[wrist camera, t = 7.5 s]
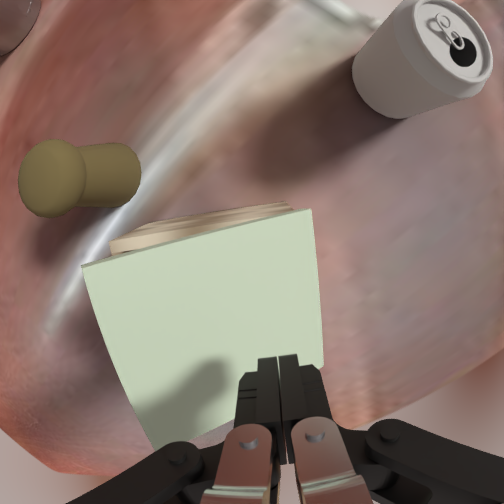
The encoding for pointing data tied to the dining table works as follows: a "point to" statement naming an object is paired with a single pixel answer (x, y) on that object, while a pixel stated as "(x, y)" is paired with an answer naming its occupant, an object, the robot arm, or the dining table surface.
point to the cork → (77, 177)
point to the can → (422, 59)
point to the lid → (207, 318)
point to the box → (191, 226)
